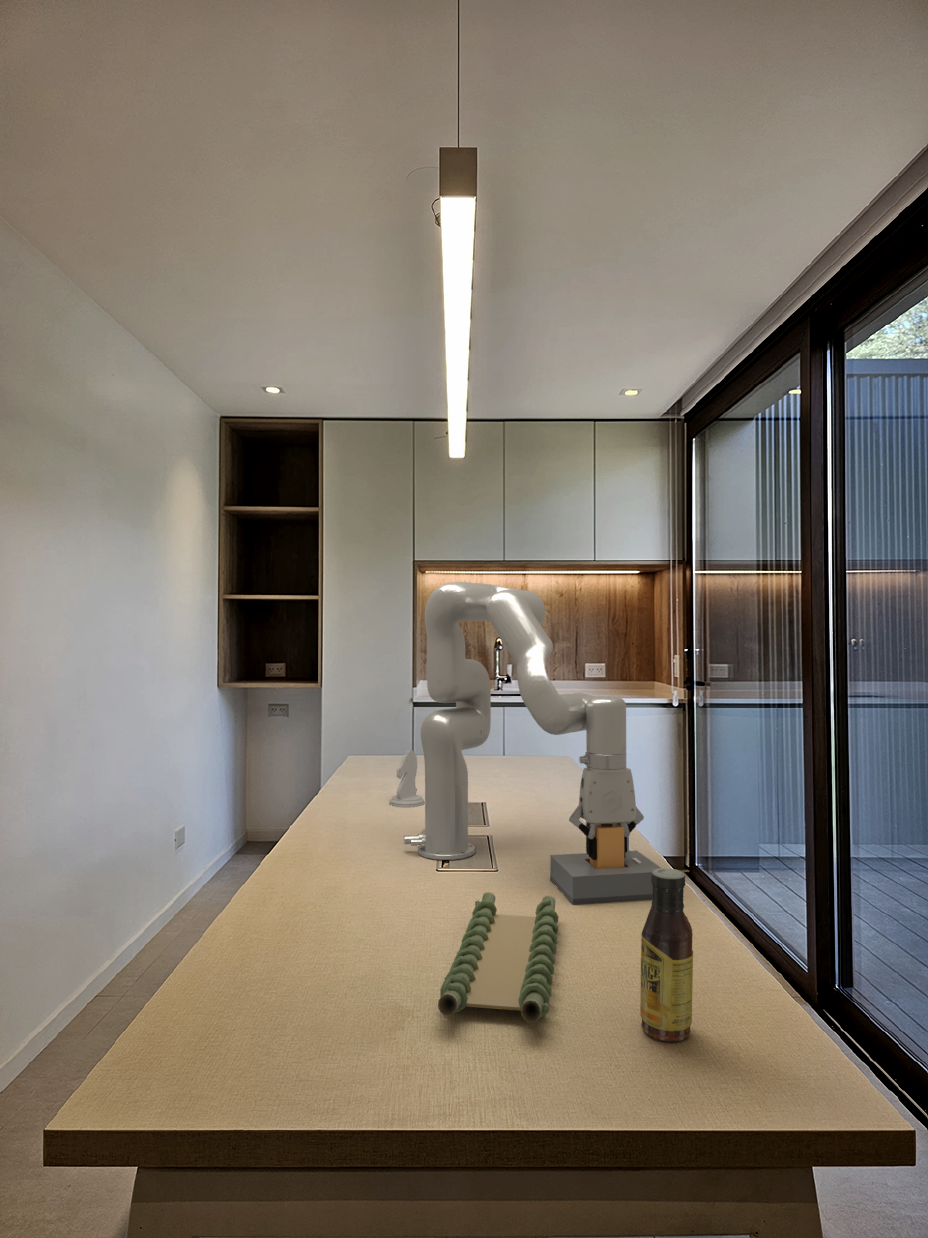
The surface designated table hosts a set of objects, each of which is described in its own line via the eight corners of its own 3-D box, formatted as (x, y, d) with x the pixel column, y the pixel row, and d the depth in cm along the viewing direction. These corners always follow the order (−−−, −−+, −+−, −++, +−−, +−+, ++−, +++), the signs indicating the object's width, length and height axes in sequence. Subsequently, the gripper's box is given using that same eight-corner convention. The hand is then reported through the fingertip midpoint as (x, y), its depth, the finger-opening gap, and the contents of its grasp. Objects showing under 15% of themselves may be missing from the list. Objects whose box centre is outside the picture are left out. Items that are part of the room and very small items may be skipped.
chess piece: (382, 804, 227) (382, 751, 227) (404, 798, 235) (405, 747, 235) (409, 809, 221) (409, 754, 222) (431, 802, 229) (431, 750, 230)
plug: (598, 871, 151) (598, 822, 151) (590, 863, 156) (589, 816, 156) (624, 870, 152) (624, 821, 152) (614, 862, 157) (614, 814, 157)
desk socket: (572, 904, 145) (572, 875, 145) (550, 880, 159) (550, 854, 159) (666, 898, 149) (666, 870, 149) (636, 875, 162) (636, 849, 162)
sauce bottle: (633, 1020, 103) (633, 864, 103) (681, 1019, 103) (681, 862, 103) (650, 1047, 96) (649, 880, 96) (701, 1045, 97) (700, 878, 97)
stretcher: (547, 1045, 97) (547, 1004, 97) (430, 1035, 100) (430, 995, 100) (561, 922, 137) (561, 893, 137) (477, 917, 140) (477, 889, 140)
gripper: (569, 766, 149) (570, 865, 149) (656, 763, 152) (656, 860, 152) (557, 760, 156) (557, 854, 156) (640, 757, 159) (641, 849, 159)
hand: (606, 856), depth 154 cm, fingers closed on plug, 4 cm apart
